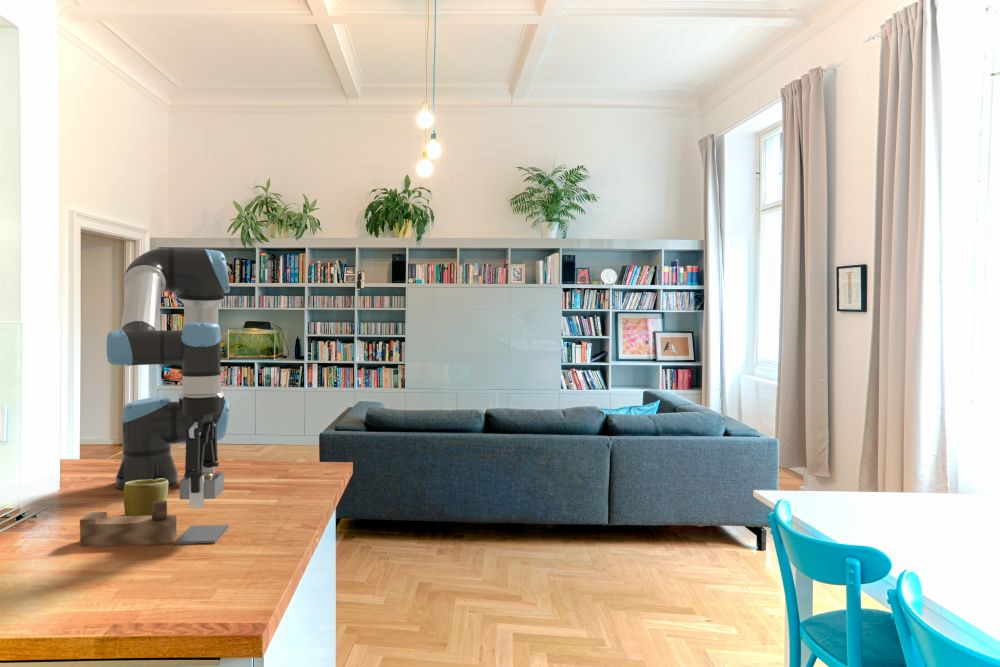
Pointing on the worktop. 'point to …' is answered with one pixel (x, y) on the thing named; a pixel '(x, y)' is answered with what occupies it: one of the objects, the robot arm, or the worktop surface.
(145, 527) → the plane body
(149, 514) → the mug
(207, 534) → the mat
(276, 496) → the worktop surface
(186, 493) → the lever cap
